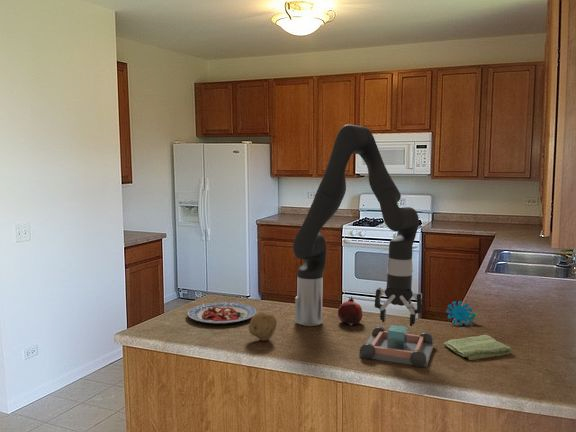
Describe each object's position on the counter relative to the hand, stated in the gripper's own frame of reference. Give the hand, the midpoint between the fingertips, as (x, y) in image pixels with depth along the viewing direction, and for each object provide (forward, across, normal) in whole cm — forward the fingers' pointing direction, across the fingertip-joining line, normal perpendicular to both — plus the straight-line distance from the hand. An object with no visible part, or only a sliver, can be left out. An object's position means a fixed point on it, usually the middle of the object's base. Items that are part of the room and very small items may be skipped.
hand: (397, 323), depth 161 cm
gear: (+9, +17, +38) cm, 43 cm away
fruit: (+10, -21, +22) cm, 32 cm away
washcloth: (+10, +23, +11) cm, 28 cm away
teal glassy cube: (+8, 0, 0) cm, 8 cm away
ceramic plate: (+10, -68, +11) cm, 69 cm away
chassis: (+9, 0, 0) cm, 9 cm away
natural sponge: (+10, -43, -7) cm, 44 cm away
